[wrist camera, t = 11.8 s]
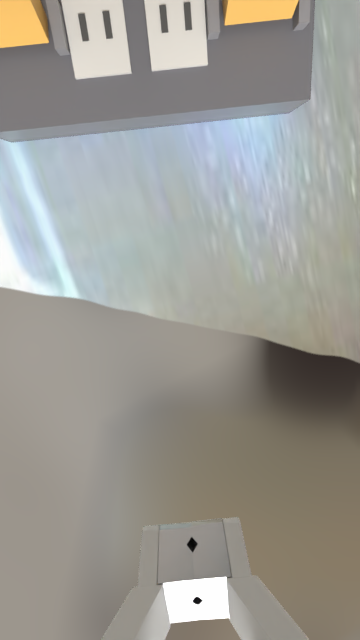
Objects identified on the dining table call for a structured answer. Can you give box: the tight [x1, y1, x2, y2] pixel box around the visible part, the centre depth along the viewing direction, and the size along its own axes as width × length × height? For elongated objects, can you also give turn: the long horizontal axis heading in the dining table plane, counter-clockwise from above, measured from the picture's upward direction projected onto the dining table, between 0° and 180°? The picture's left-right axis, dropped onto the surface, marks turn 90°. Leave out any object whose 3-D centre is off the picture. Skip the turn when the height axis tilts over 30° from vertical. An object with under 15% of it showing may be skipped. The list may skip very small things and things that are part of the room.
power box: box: [0, 0, 315, 142], centre depth 26 cm, size 27×12×6 cm, turn 96°
